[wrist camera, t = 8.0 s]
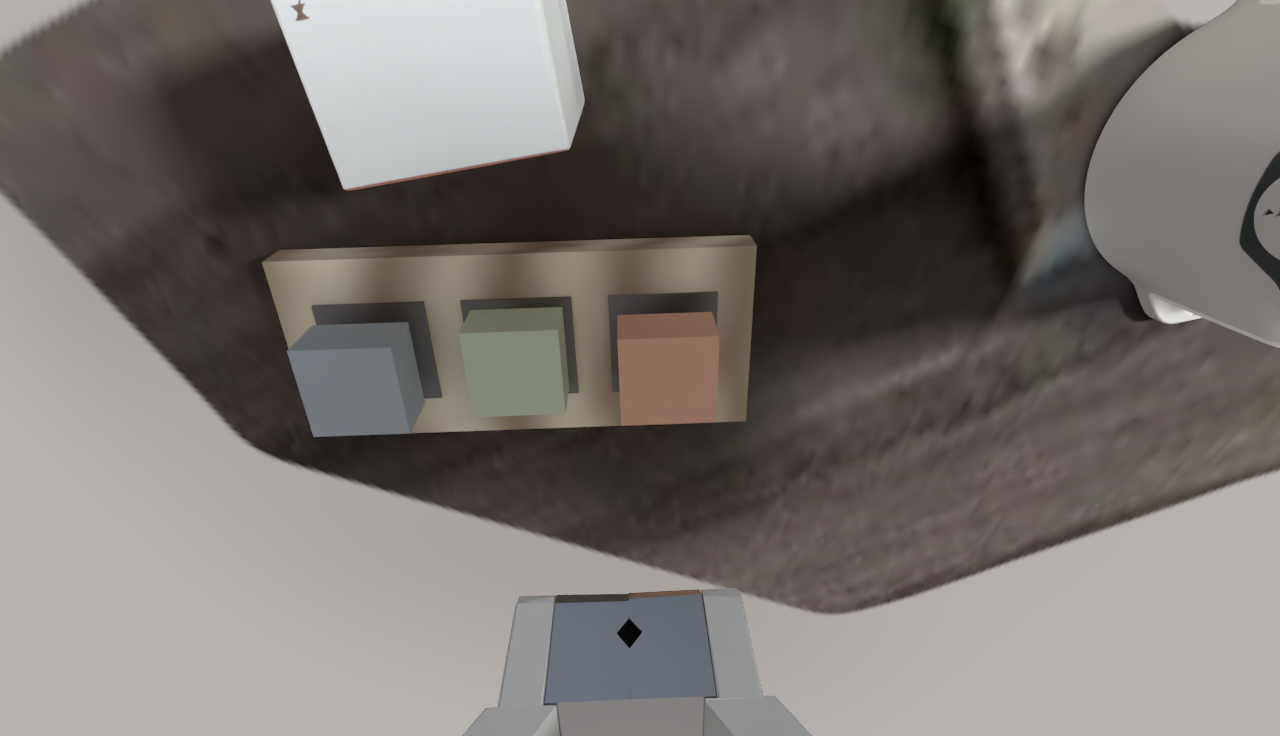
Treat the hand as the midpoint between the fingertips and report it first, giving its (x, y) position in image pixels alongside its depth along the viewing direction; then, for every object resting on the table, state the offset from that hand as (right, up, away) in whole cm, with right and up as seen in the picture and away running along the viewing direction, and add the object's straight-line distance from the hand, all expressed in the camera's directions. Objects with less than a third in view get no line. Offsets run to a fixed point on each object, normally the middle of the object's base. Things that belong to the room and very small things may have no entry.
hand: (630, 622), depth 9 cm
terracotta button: (+2, +4, +27) cm, 27 cm away
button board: (-7, +6, +30) cm, 31 cm away
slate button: (-14, +4, +27) cm, 30 cm away
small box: (-7, +19, +23) cm, 31 cm away
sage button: (-7, +5, +28) cm, 29 cm away
